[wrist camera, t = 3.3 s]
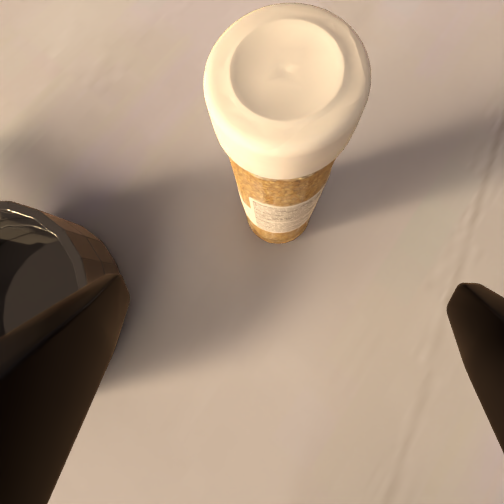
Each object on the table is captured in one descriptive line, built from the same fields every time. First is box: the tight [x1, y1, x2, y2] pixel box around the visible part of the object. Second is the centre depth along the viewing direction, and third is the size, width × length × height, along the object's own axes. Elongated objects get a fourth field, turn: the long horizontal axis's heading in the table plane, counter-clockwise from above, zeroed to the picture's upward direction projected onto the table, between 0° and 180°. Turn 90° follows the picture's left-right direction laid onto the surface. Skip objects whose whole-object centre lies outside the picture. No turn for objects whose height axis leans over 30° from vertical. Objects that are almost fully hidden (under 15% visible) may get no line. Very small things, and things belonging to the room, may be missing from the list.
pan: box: [0, 201, 119, 337], centre depth 19 cm, size 13×13×4 cm
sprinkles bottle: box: [203, 3, 371, 243], centre depth 14 cm, size 5×5×13 cm
